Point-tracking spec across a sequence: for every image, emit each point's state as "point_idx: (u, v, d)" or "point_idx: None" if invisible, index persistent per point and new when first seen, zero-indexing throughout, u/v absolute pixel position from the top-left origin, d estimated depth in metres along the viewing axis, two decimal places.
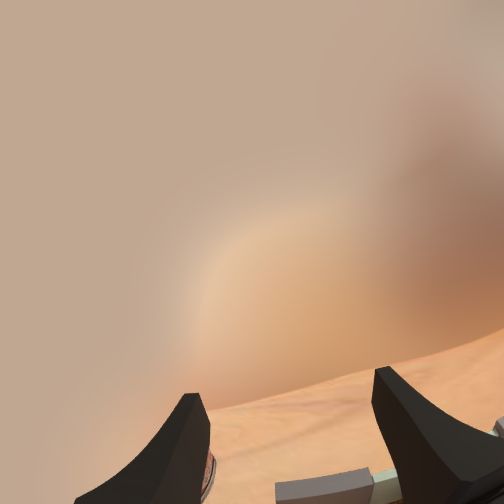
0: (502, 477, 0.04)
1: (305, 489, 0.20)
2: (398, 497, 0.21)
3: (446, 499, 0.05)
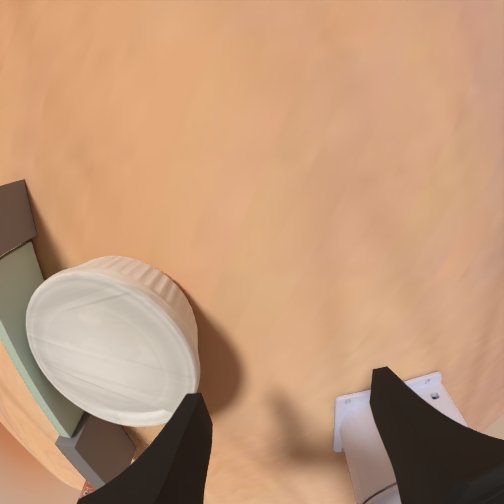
0: (499, 479, 0.04)
1: (98, 484, 0.19)
2: None
3: (443, 500, 0.05)
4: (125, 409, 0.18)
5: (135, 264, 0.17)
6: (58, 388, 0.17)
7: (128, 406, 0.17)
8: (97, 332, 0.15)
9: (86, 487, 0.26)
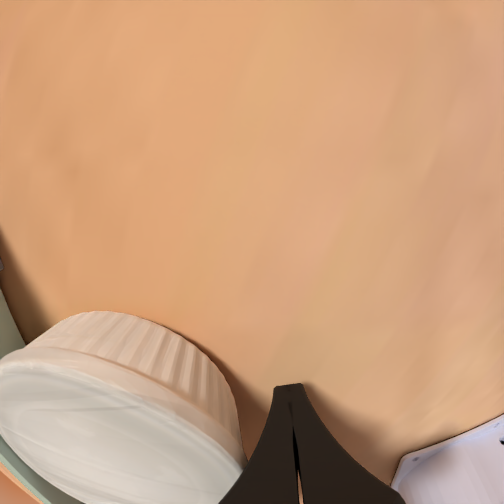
0: None
1: None
2: None
3: None
4: None
5: (141, 332, 0.10)
6: (45, 478, 0.10)
7: None
8: (90, 443, 0.08)
9: None
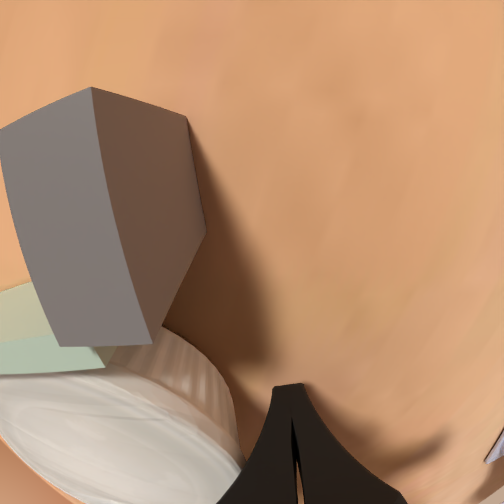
0: None
1: None
2: None
3: None
4: (124, 502, 0.11)
5: (159, 340, 0.10)
6: (32, 467, 0.10)
7: (129, 501, 0.11)
8: (96, 446, 0.08)
9: None
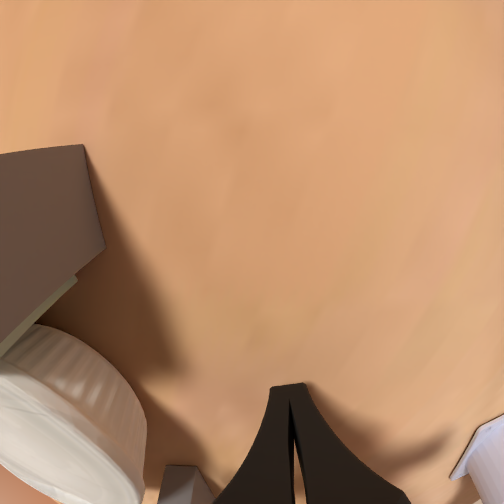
0: None
1: None
2: None
3: None
4: (62, 489, 0.11)
5: (65, 351, 0.11)
6: None
7: None
8: (18, 433, 0.08)
9: None
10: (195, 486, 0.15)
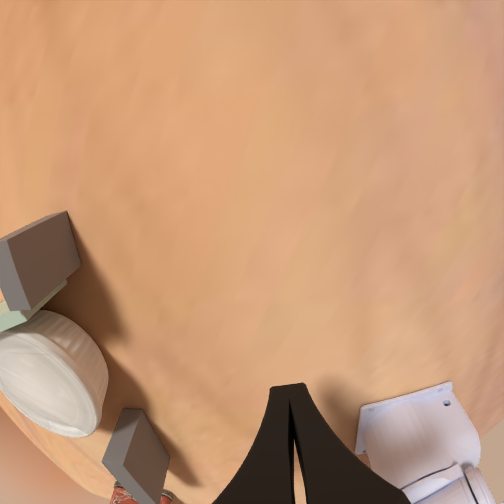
0: None
1: (140, 495, 0.20)
2: None
3: None
4: (54, 421, 0.20)
5: (61, 324, 0.20)
6: (8, 397, 0.19)
7: (56, 420, 0.20)
8: (31, 371, 0.17)
9: (115, 496, 0.28)
10: (140, 422, 0.24)
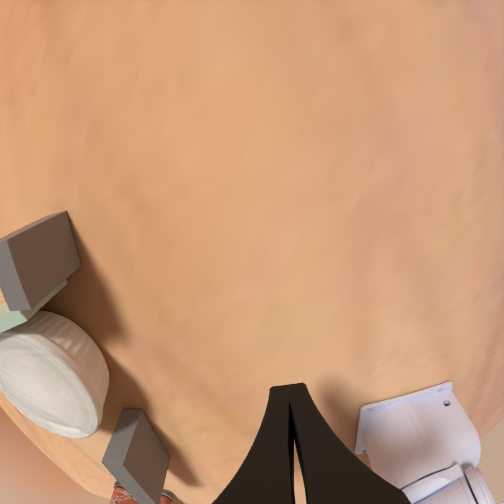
0: None
1: (140, 495, 0.20)
2: None
3: None
4: (55, 422, 0.20)
5: (62, 325, 0.20)
6: (8, 398, 0.19)
7: (56, 420, 0.20)
8: (32, 372, 0.17)
9: (115, 496, 0.28)
10: (140, 422, 0.24)
